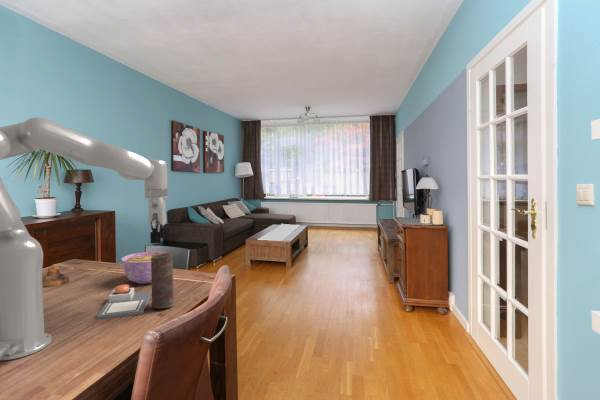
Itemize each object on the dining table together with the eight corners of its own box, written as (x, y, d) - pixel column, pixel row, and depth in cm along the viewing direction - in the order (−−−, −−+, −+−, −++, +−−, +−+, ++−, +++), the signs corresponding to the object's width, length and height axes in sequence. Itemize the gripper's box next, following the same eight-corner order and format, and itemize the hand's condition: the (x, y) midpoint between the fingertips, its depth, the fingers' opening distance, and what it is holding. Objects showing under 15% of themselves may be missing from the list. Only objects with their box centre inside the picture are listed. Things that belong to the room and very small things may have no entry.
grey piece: (142, 313, 107) (142, 304, 106) (96, 319, 102) (96, 309, 102) (150, 293, 125) (150, 285, 125) (111, 297, 121) (111, 289, 121)
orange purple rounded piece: (64, 286, 134) (64, 270, 133) (30, 289, 129) (29, 272, 129) (73, 278, 145) (72, 263, 144) (42, 281, 140) (41, 265, 140)
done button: (127, 294, 116) (127, 288, 116) (113, 295, 115) (113, 289, 115) (130, 290, 121) (130, 284, 121) (116, 291, 119) (116, 285, 119)
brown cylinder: (165, 312, 108) (164, 257, 107) (146, 310, 109) (145, 255, 108) (177, 304, 115) (177, 252, 114) (160, 302, 117) (159, 251, 116)
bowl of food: (179, 279, 145) (178, 255, 144) (138, 291, 127) (137, 264, 127) (153, 272, 155) (152, 249, 154) (112, 283, 138) (111, 258, 137)
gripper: (165, 195, 104) (166, 244, 105) (169, 192, 120) (170, 235, 121) (140, 195, 101) (142, 245, 102) (148, 193, 118) (149, 236, 119)
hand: (157, 240), depth 112 cm, fingers open, 9 cm apart
